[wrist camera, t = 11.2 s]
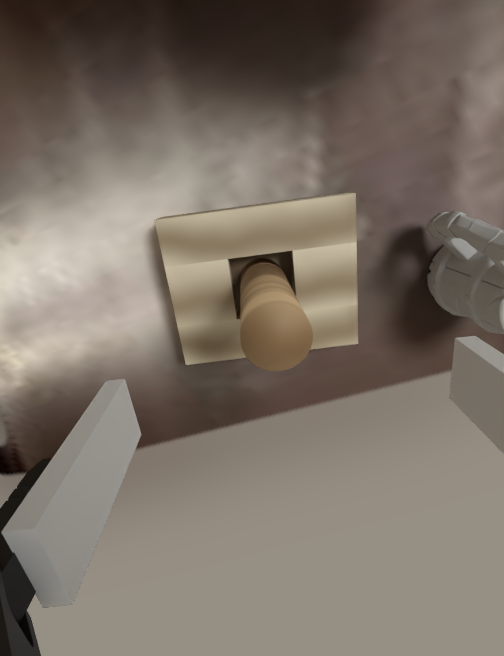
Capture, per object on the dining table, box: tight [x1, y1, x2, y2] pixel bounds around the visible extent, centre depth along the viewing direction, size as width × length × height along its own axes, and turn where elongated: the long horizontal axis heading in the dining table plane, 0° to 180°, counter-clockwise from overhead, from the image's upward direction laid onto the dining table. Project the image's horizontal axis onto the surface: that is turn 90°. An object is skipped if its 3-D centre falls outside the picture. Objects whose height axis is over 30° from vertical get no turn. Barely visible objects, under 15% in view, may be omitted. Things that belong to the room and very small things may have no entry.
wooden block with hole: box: [154, 193, 358, 365], centre depth 32 cm, size 13×16×4 cm
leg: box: [240, 258, 313, 371], centre depth 26 cm, size 4×4×14 cm
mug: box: [426, 211, 504, 334], centre depth 28 cm, size 8×12×12 cm, turn 46°
